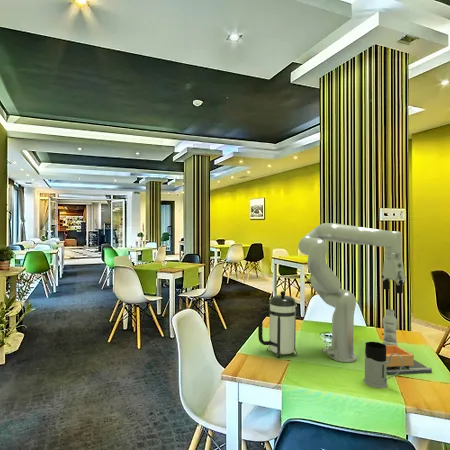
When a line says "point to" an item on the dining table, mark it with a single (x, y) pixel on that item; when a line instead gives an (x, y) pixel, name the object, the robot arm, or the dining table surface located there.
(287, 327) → the coffee press
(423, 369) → the grey flat slab
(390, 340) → the plastic bottle
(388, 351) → the orange open tray
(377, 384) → the grey mug
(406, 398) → the dining table surface
